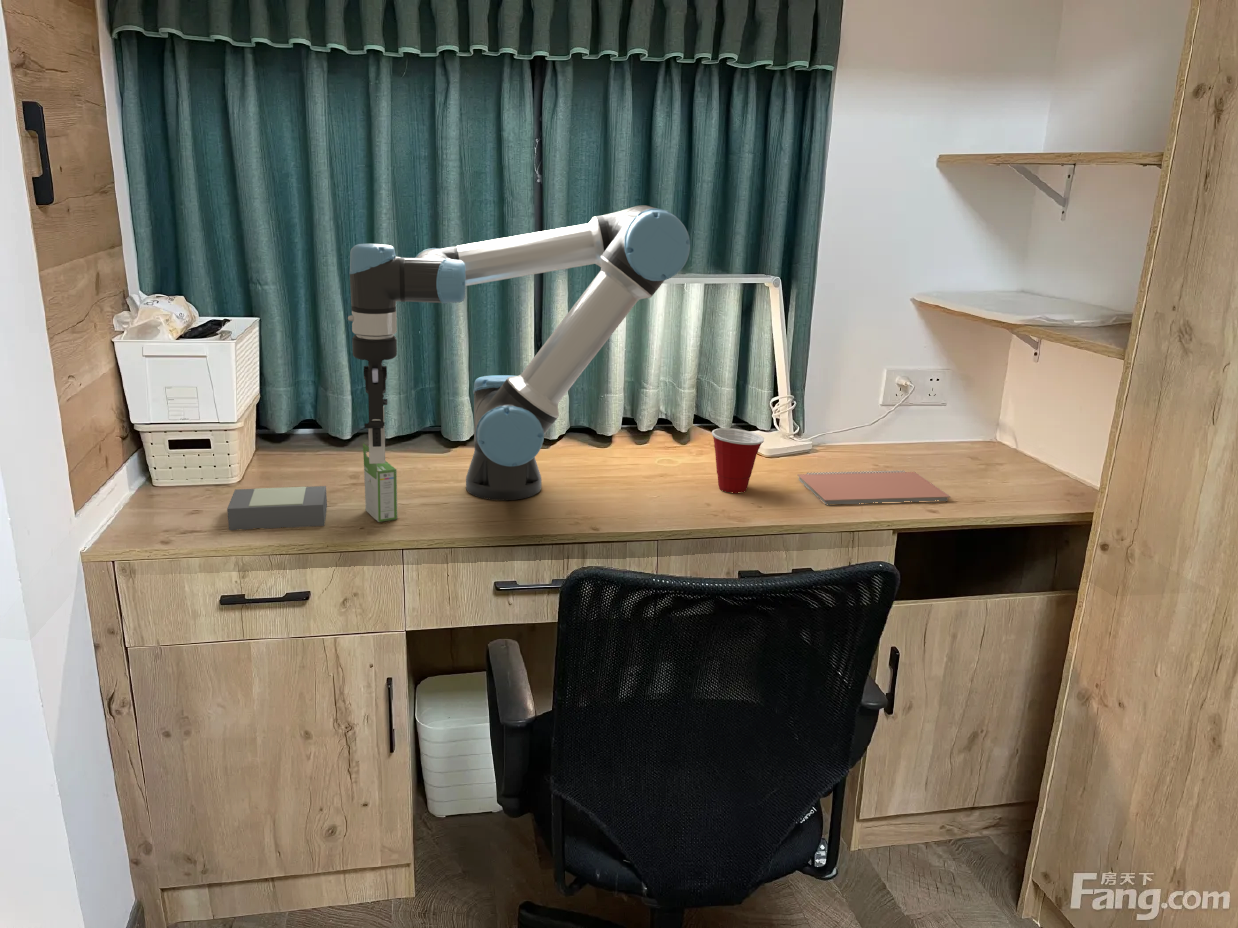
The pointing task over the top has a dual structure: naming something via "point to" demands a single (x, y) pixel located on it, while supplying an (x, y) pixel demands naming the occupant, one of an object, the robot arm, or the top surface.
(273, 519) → the plinth
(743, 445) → the plastic cup
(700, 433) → the top surface
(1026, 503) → the top surface
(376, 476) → the ink box
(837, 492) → the notebook
